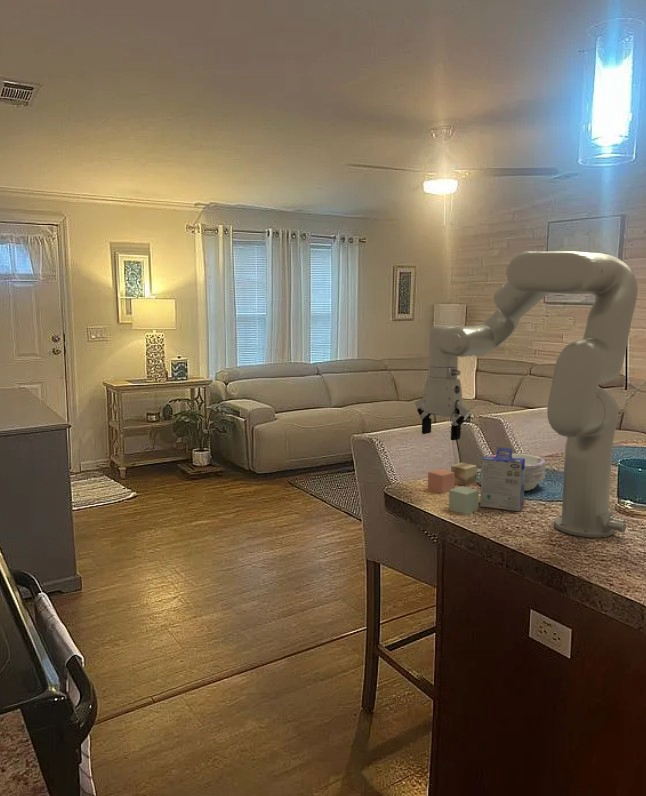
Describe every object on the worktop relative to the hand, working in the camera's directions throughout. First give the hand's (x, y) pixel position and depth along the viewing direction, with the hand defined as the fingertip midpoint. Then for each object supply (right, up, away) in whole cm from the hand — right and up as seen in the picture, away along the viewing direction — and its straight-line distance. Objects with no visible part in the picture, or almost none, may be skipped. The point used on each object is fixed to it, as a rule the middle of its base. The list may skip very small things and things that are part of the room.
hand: (440, 436), depth 169 cm
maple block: (+8, -14, +8) cm, 18 cm away
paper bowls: (+21, -14, +4) cm, 26 cm away
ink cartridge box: (+13, -17, -12) cm, 25 cm away
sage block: (+3, -17, -14) cm, 23 cm away
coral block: (+1, -15, +2) cm, 15 cm away
